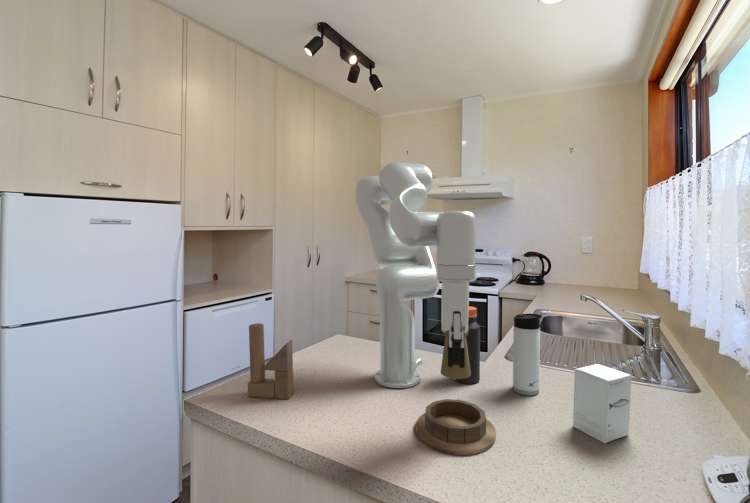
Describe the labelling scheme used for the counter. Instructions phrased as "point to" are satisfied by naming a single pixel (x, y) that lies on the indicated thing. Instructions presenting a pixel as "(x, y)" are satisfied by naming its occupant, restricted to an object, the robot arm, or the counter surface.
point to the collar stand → (455, 428)
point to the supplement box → (602, 402)
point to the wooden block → (269, 368)
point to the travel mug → (526, 353)
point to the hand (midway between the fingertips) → (455, 361)
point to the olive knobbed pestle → (455, 370)
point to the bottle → (473, 348)
